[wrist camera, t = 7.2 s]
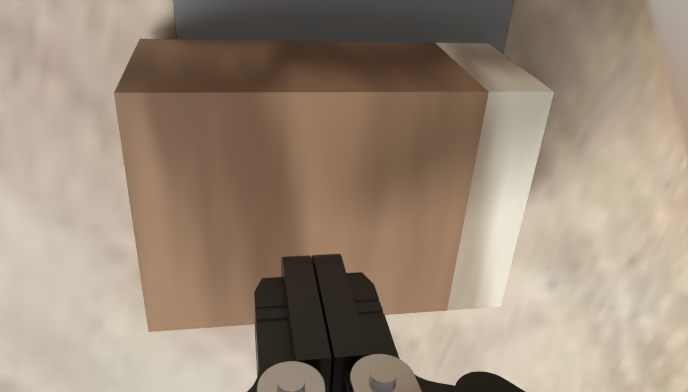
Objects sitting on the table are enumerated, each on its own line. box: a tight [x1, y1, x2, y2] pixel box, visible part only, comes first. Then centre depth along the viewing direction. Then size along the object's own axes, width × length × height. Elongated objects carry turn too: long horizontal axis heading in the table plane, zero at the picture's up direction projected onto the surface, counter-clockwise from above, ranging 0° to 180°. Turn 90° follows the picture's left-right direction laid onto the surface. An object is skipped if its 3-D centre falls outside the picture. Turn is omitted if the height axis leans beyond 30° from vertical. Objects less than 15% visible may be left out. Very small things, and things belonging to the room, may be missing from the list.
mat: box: [173, 0, 514, 54], centre depth 22 cm, size 12×14×1 cm
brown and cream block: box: [114, 39, 554, 332], centre depth 20 cm, size 5×8×12 cm
